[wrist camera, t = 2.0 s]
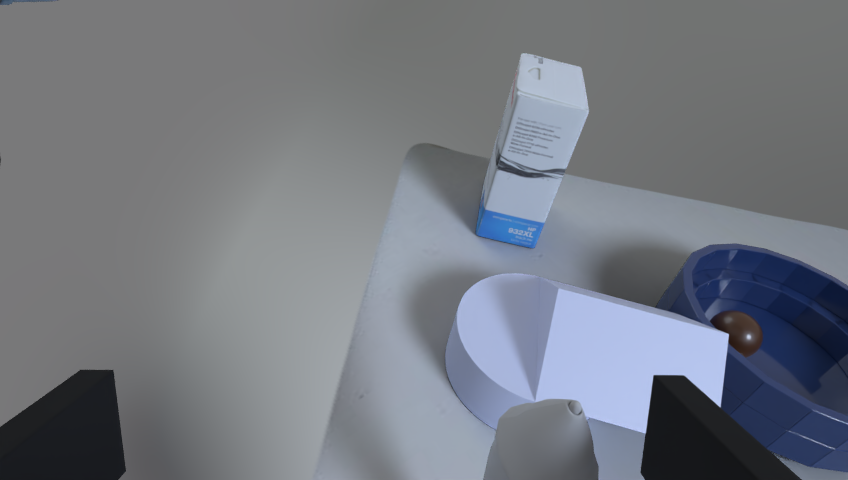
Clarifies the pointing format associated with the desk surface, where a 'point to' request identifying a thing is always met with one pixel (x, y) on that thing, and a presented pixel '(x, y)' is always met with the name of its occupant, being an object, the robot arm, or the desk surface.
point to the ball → (739, 331)
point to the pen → (543, 443)
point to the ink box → (532, 149)
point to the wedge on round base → (573, 350)
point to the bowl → (777, 347)
